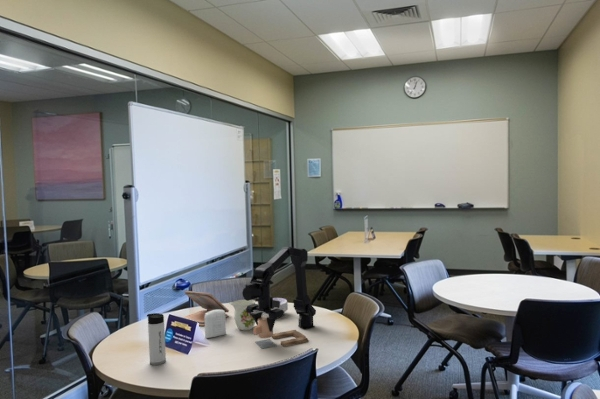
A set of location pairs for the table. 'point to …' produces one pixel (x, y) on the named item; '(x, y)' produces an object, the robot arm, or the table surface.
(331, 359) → the table surface
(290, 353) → the table surface
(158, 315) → the travel mug
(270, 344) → the mat
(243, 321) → the pitcher
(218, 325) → the white tombstone
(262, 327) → the peach rounded canister
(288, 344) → the brown u-shaped piece
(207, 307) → the case
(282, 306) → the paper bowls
